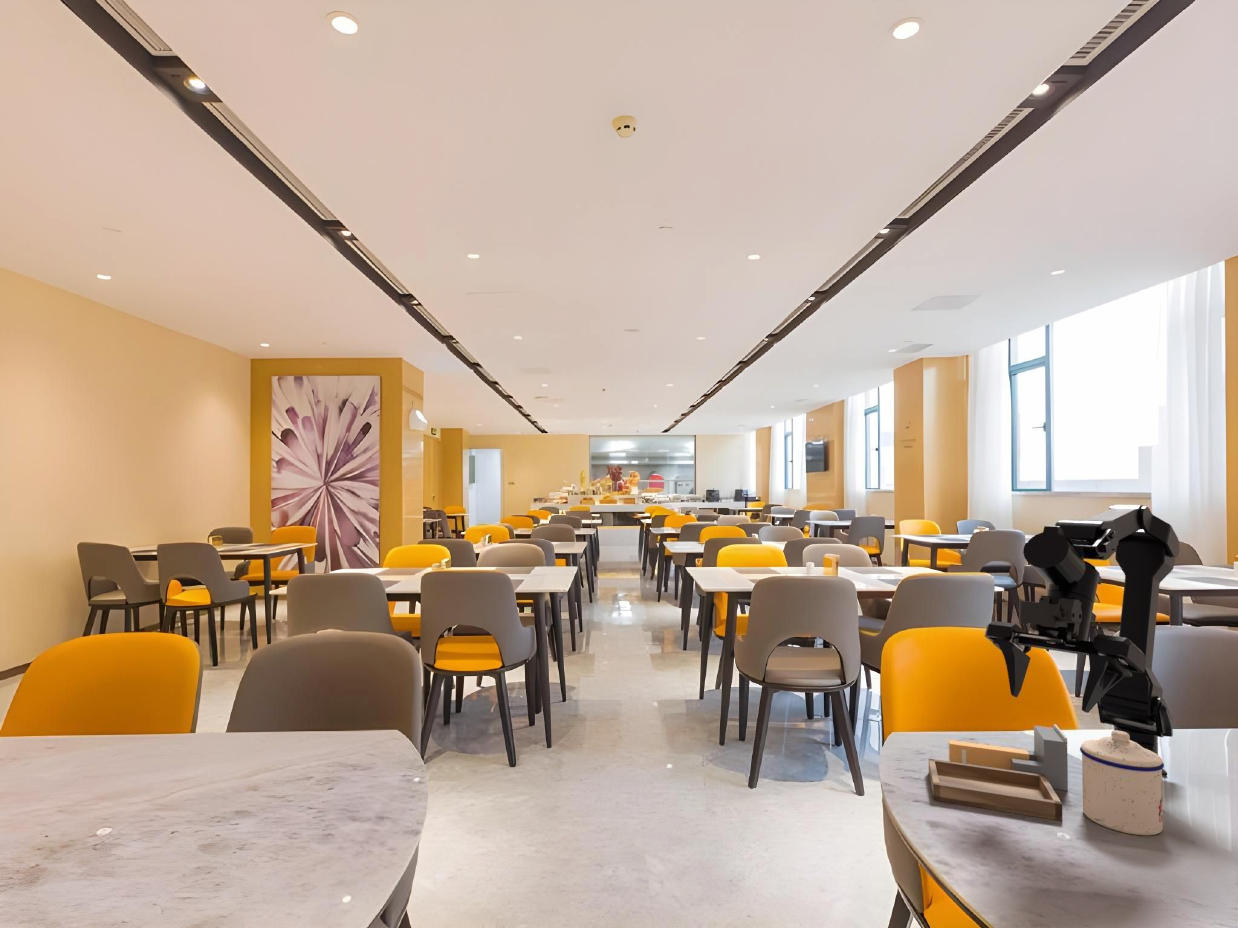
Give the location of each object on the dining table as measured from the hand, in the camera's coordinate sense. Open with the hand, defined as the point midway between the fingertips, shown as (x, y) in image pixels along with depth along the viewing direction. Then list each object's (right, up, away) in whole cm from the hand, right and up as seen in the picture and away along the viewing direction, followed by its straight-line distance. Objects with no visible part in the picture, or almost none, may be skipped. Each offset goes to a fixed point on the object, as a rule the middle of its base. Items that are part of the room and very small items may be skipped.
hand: (1047, 703), depth 94 cm
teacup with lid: (+9, -15, -1) cm, 17 cm away
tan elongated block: (-1, -16, +14) cm, 21 cm away
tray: (-5, -15, +5) cm, 16 cm away
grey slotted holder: (+5, -15, +11) cm, 20 cm away
